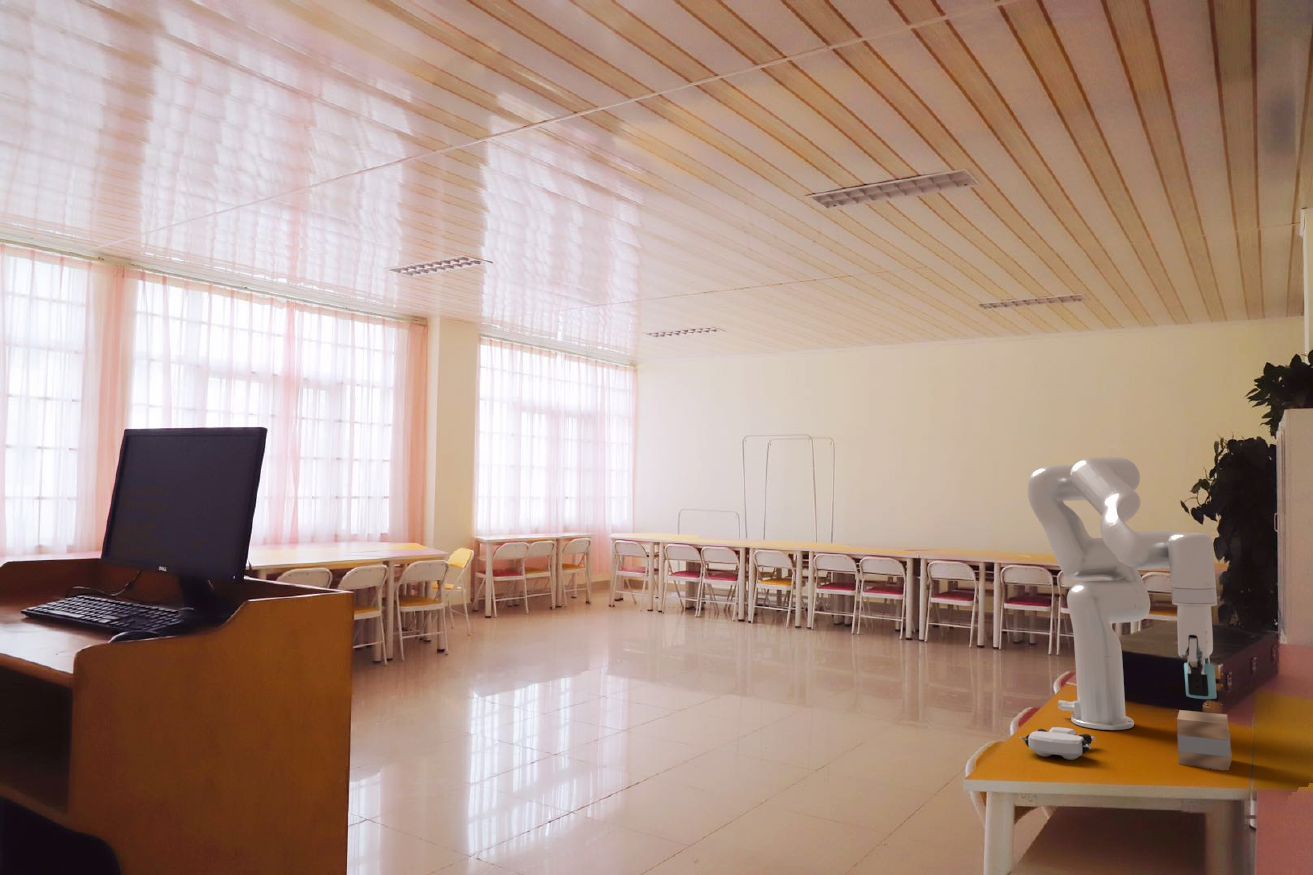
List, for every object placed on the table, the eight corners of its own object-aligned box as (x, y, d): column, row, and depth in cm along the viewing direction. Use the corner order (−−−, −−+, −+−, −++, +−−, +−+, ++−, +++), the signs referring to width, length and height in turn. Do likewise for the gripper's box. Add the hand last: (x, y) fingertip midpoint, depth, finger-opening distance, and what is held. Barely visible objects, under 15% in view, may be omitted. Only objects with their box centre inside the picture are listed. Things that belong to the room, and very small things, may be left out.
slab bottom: (1178, 766, 170) (1177, 750, 171) (1183, 756, 177) (1183, 740, 177) (1228, 773, 166) (1227, 757, 166) (1231, 762, 172) (1231, 746, 172)
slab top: (1177, 734, 170) (1177, 718, 171) (1180, 725, 177) (1179, 709, 177) (1227, 740, 166) (1226, 723, 166) (1228, 730, 173) (1227, 714, 173)
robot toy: (1034, 744, 189) (1019, 757, 177) (1034, 722, 190) (1018, 733, 177) (1099, 752, 182) (1088, 766, 170) (1098, 729, 183) (1087, 741, 171)
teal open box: (1184, 697, 172) (1182, 665, 172) (1188, 692, 175) (1186, 661, 176) (1214, 700, 168) (1212, 667, 169) (1218, 695, 172) (1215, 663, 173)
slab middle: (1178, 750, 170) (1177, 734, 171) (1182, 740, 177) (1181, 725, 177) (1228, 757, 166) (1226, 740, 166) (1230, 746, 172) (1229, 730, 173)
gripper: (1178, 592, 182) (1185, 683, 181) (1164, 600, 169) (1171, 698, 168) (1221, 593, 178) (1228, 686, 176) (1210, 602, 164) (1218, 703, 163)
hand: (1200, 691), depth 172 cm, fingers closed on teal open box, 4 cm apart
